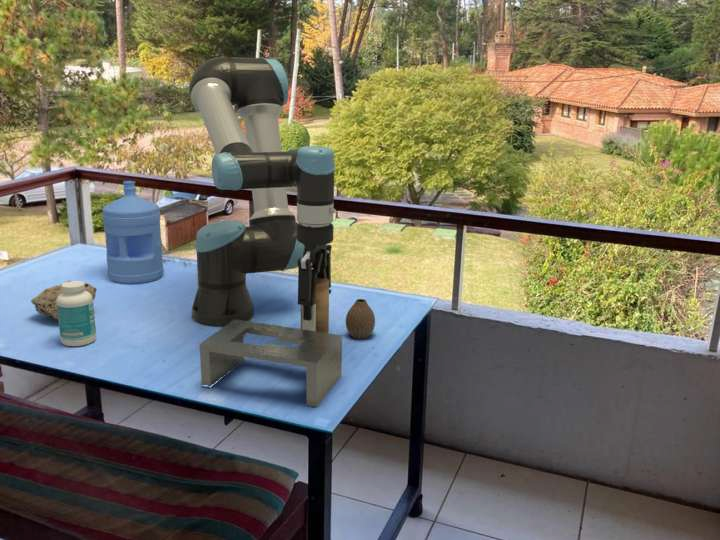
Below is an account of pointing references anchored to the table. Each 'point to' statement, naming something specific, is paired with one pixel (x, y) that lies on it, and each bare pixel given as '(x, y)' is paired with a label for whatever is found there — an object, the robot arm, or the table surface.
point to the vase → (360, 319)
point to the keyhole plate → (275, 354)
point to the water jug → (133, 238)
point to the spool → (321, 305)
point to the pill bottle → (76, 314)
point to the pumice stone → (54, 299)
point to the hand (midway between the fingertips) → (314, 327)
